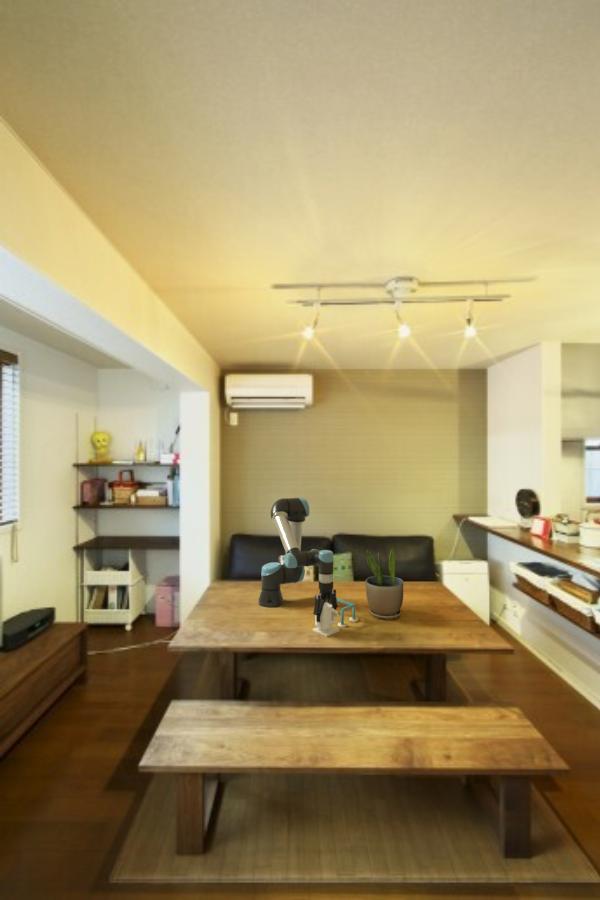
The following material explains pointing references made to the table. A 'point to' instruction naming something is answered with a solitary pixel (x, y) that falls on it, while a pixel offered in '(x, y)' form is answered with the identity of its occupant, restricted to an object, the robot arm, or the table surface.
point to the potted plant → (384, 590)
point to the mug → (327, 616)
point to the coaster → (326, 631)
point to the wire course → (352, 619)
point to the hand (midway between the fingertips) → (325, 625)
